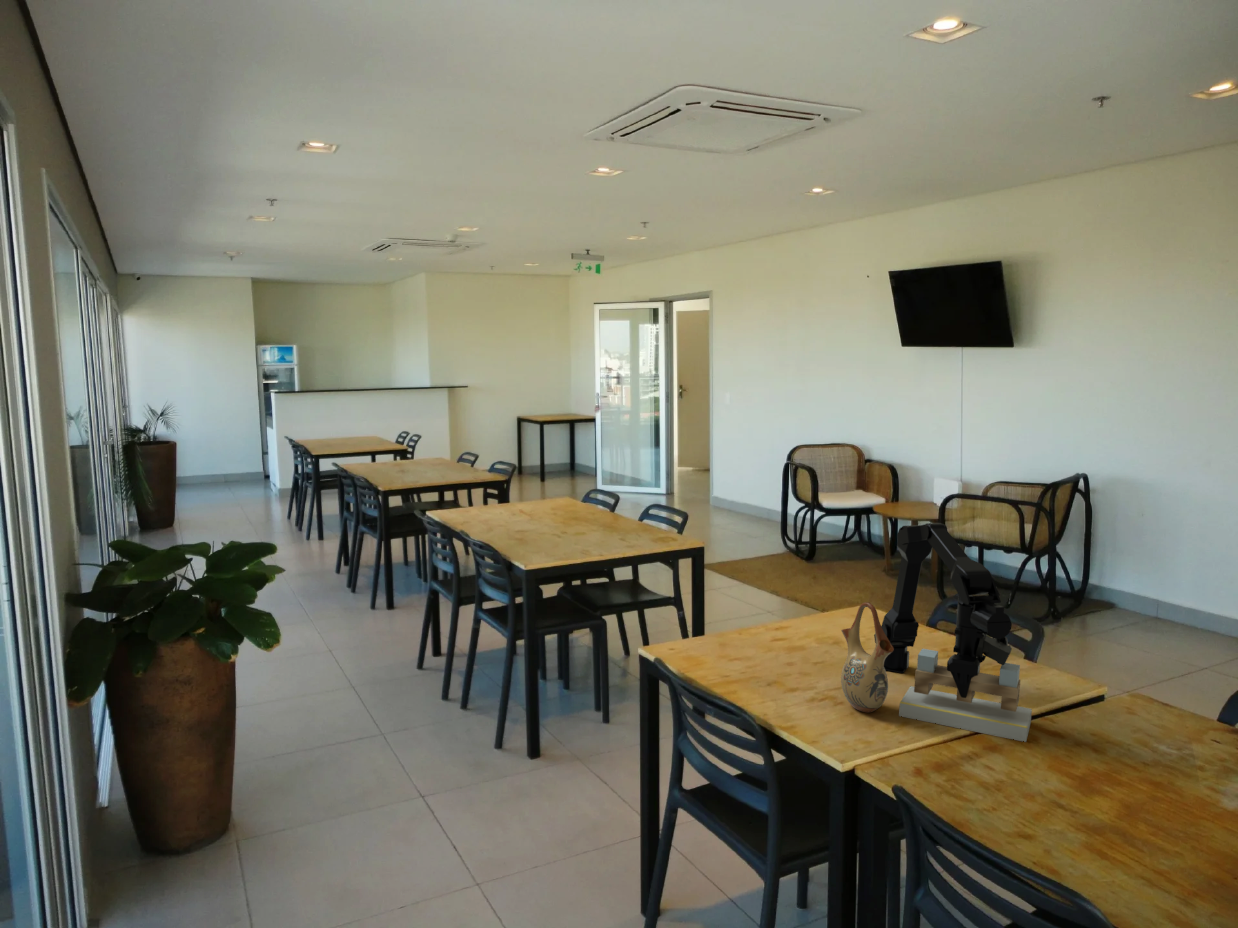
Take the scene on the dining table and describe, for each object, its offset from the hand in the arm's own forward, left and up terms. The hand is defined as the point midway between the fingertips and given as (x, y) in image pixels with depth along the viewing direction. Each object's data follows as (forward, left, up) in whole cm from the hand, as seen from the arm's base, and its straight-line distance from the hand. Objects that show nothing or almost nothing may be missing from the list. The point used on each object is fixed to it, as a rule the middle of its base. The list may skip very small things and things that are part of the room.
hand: (965, 692), depth 194 cm
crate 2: (+9, 0, +4) cm, 9 cm away
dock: (0, 0, -6) cm, 6 cm away
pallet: (0, 0, -1) cm, 1 cm away
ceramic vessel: (-21, -6, -6) cm, 23 cm away
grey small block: (-8, 0, +4) cm, 9 cm away
